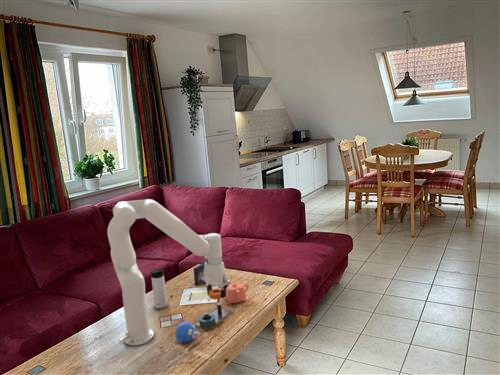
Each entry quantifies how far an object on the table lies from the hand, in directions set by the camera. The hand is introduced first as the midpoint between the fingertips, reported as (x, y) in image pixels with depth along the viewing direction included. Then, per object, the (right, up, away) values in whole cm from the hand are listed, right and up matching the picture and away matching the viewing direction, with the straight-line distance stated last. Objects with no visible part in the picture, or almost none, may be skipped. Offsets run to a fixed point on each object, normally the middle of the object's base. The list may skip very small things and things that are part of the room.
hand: (216, 295), depth 200 cm
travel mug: (-29, -10, +15) cm, 34 cm away
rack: (-1, -11, -2) cm, 11 cm away
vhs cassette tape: (-10, -3, +47) cm, 48 cm away
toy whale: (-10, -15, -20) cm, 27 cm away
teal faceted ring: (-4, -11, -6) cm, 13 cm away
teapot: (+9, -7, +16) cm, 20 cm away
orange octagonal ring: (0, 0, 0) cm, 0 cm away
